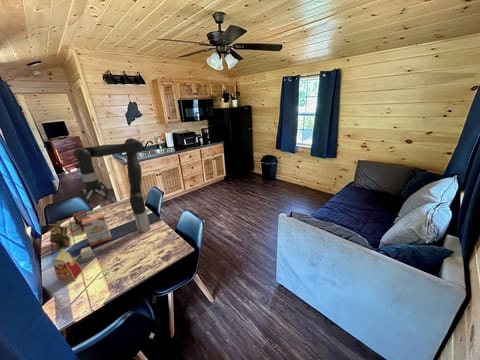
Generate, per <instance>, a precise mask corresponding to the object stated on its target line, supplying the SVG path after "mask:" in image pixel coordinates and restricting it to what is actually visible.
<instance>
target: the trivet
mask: <svg viewBox="0 0 480 360" xmlns="http://www.w3.org/2000/svg"><path fill="white" fill-rule="evenodd" d="M91 250H92V256H91V257H88V258H85V259H83V258H82V256H81V254H79V255H78V256H77V258H76V262H77V263H78V264H80V263H81V264H82V263H87V262H90V261H92V260H93V259H95V258H96V257H97V256H98V254H99V252H98V250H97V249H91Z"/></svg>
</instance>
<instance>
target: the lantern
mask: <svg viewBox="0 0 480 360" xmlns="http://www.w3.org/2000/svg"><path fill="white" fill-rule="evenodd" d="M72 217H73V220H74V223H75V224H76V225H79V229H80V230H81V231H82V232H85V231H84V228H83V225H82V220H83V219H87V218H91V217H92V216H88V215H87V213H86V211H85V210H81V211H80V212H77V213H73V214H72Z"/></svg>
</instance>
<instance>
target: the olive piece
mask: <svg viewBox="0 0 480 360" xmlns="http://www.w3.org/2000/svg"><path fill="white" fill-rule="evenodd" d="M47 225H49V226H54V229H52V231H51V233H50V236H49V237H50V238H49V242H50V243H53V244H55V245H56V248H55V250H56V251H61V249H62V248H63V250H64V249H66V248H70V246H71V237H70V236H69V235H68V226H61V222H60V221H56V223H55V224H54V223H52V224H50V223H48V224H47Z"/></svg>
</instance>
